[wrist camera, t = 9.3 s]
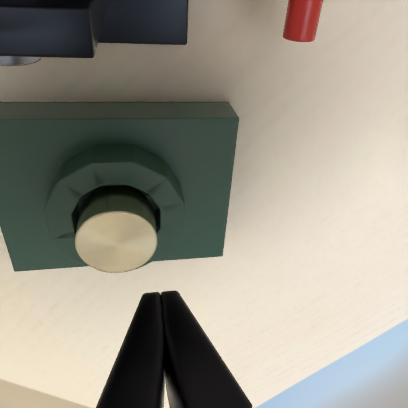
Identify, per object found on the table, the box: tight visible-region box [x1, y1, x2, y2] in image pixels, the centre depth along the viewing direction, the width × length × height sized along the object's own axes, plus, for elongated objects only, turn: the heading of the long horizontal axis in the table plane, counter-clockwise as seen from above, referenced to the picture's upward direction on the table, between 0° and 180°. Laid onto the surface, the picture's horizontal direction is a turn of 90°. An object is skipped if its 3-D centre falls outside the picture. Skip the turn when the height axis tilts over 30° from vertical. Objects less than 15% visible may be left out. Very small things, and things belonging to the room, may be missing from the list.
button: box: [75, 187, 157, 273], centre depth 18 cm, size 4×4×2 cm
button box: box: [0, 102, 239, 271], centre depth 20 cm, size 12×9×4 cm
